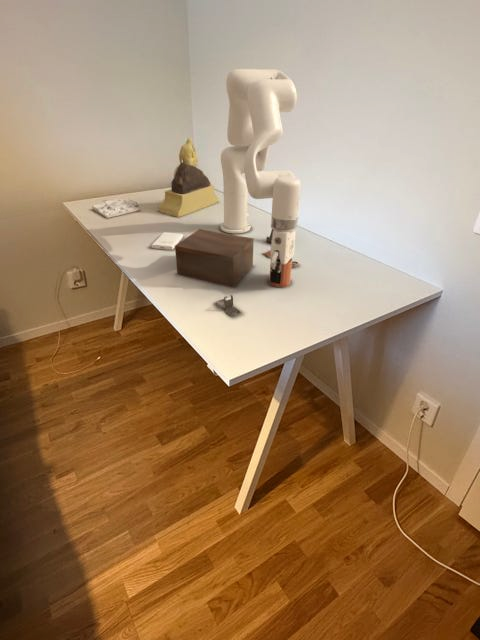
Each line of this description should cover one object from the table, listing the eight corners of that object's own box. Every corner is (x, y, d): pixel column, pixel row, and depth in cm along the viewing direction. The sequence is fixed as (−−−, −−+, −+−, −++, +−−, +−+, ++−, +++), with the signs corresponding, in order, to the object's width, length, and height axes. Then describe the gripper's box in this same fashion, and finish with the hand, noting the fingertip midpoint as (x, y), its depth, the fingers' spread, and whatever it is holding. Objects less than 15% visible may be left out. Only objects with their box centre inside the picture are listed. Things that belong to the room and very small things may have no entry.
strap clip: (215, 304, 110) (214, 291, 107) (224, 300, 111) (223, 288, 109) (232, 317, 104) (232, 304, 102) (241, 313, 106) (241, 300, 103)
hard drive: (183, 237, 151) (172, 250, 141) (163, 236, 152) (151, 248, 142) (183, 233, 150) (172, 246, 140) (163, 232, 151) (151, 244, 141)
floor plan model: (120, 197, 194) (119, 193, 193) (145, 209, 178) (144, 205, 177) (84, 204, 184) (83, 200, 183) (107, 218, 168) (106, 213, 167)
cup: (273, 276, 125) (274, 253, 120) (292, 279, 123) (294, 256, 118) (266, 284, 120) (267, 261, 115) (286, 289, 118) (288, 265, 113)
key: (262, 254, 139) (286, 270, 128) (262, 251, 139) (286, 267, 128) (276, 249, 141) (300, 265, 130) (276, 247, 141) (300, 263, 130)
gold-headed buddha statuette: (198, 197, 196) (195, 132, 179) (218, 202, 190) (216, 135, 173) (158, 211, 177) (150, 140, 160) (178, 217, 171) (172, 143, 154)
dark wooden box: (200, 255, 137) (199, 228, 131) (252, 266, 130) (253, 238, 125) (177, 274, 125) (174, 245, 119) (233, 287, 118) (233, 257, 113)
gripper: (287, 234, 102) (282, 291, 112) (305, 215, 116) (299, 267, 125) (261, 230, 105) (258, 286, 115) (281, 211, 118) (277, 263, 128)
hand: (280, 276), depth 120 cm, fingers open, 8 cm apart
